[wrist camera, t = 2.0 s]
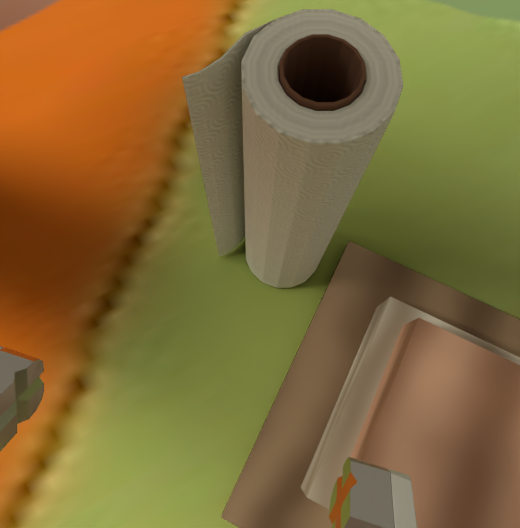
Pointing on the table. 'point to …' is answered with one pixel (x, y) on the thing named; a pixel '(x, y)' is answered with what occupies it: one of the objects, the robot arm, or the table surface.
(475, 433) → the brown square stepped pedestal
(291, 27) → the paper towel roll
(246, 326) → the table surface
